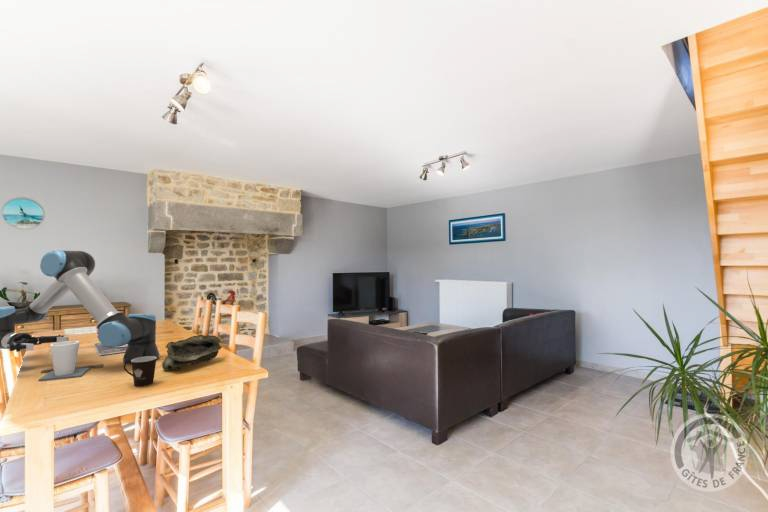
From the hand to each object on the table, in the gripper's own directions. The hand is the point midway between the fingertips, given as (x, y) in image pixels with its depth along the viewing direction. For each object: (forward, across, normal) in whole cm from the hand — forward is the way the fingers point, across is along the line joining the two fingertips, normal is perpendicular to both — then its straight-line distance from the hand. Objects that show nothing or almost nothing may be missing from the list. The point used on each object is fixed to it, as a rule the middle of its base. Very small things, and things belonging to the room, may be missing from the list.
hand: (50, 343), depth 162 cm
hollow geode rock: (+52, -27, -14) cm, 60 cm away
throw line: (+6, -5, -13) cm, 15 cm away
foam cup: (+11, +2, -12) cm, 16 cm away
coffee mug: (+52, 0, -14) cm, 53 cm away
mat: (+11, +1, -13) cm, 17 cm away
